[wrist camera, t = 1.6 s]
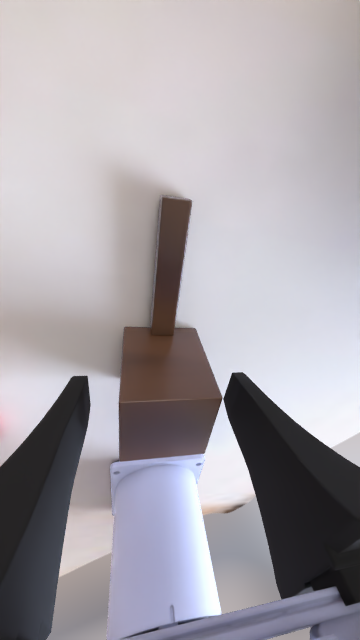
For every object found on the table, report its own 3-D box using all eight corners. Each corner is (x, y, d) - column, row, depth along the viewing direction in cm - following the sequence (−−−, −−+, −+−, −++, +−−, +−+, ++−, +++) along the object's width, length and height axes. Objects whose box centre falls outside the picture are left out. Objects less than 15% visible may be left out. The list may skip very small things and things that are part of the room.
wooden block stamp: (185, 378, 15) (204, 454, 11) (124, 379, 15) (119, 462, 10) (220, 203, 10) (280, 223, 6) (125, 190, 9) (117, 202, 5)
